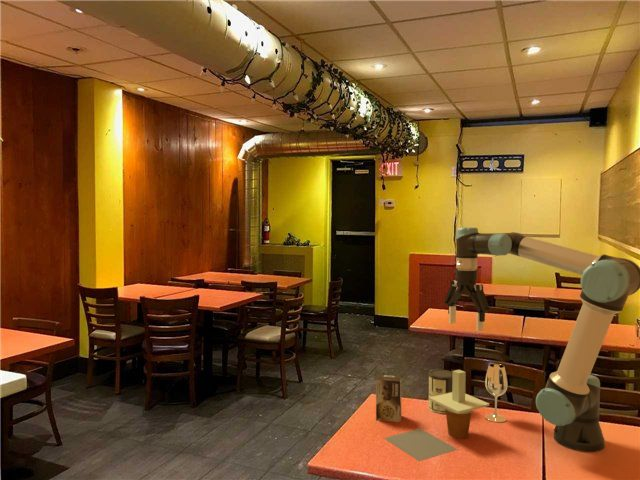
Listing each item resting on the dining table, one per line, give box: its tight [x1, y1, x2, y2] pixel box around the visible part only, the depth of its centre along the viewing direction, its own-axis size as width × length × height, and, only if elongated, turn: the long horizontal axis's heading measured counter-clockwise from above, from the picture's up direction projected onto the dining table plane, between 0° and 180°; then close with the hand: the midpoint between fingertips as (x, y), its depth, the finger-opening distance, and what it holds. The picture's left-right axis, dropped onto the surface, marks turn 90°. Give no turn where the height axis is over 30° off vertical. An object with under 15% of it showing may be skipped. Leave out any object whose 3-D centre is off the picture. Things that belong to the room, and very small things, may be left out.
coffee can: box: [427, 369, 453, 415], centre depth 195 cm, size 10×10×14 cm
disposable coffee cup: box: [445, 408, 473, 440], centre depth 170 cm, size 10×10×12 cm
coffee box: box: [375, 374, 402, 423], centre depth 184 cm, size 9×6×16 cm
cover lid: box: [428, 369, 490, 414], centre depth 169 cm, size 14×14×11 cm
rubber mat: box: [383, 428, 459, 462], centre depth 163 cm, size 18×16×1 cm
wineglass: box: [484, 363, 508, 423], centre depth 186 cm, size 8×8×20 cm
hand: (465, 326), depth 184 cm, fingers open, 13 cm apart
